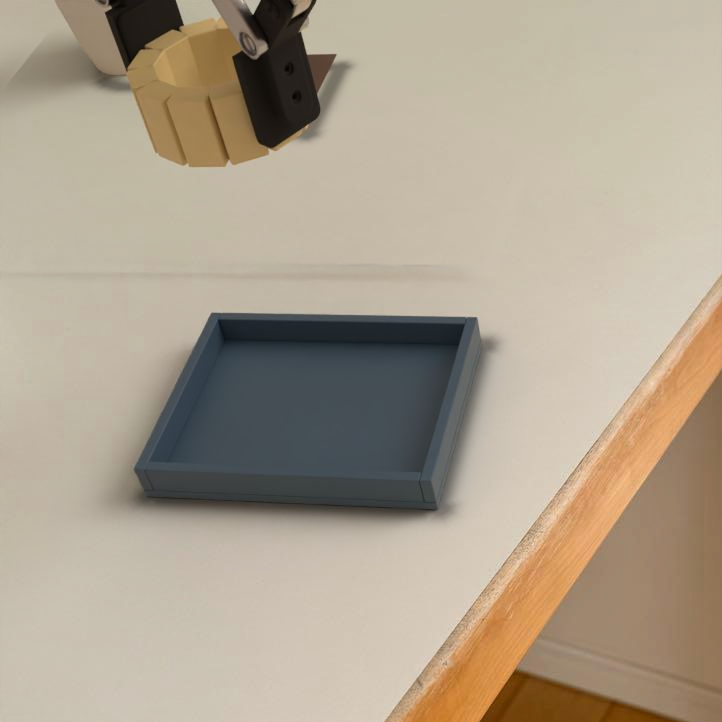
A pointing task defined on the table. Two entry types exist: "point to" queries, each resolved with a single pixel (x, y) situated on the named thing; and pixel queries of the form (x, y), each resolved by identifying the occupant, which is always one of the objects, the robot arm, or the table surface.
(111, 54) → the cup
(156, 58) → the bracelet
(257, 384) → the tray
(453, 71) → the table surface
